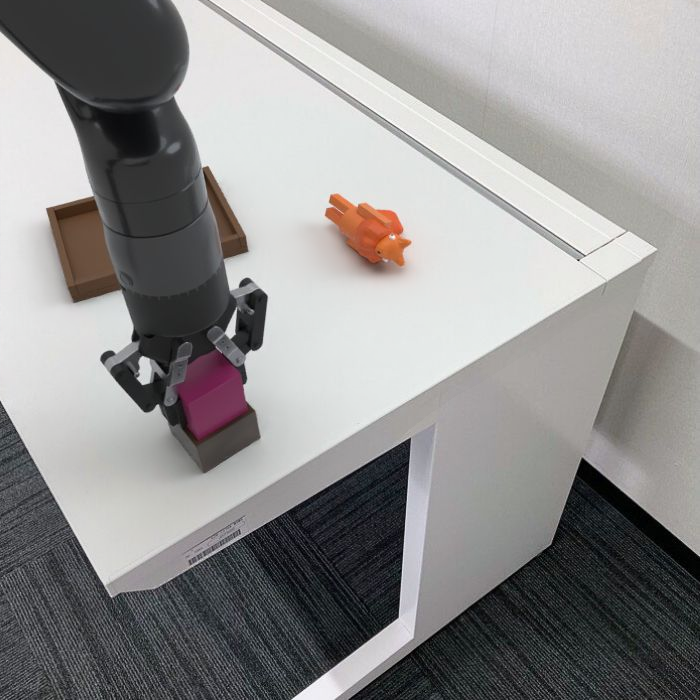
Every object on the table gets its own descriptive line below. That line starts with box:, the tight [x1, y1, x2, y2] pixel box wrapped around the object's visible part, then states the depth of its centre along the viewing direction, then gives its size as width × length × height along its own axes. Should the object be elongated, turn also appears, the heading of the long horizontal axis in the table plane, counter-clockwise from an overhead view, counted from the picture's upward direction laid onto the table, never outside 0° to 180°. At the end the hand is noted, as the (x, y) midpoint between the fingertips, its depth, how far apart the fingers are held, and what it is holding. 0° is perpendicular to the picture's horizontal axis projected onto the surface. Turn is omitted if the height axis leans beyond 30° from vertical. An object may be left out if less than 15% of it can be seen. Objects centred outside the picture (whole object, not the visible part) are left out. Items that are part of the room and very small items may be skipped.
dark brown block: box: [166, 400, 262, 474], centre depth 68 cm, size 6×6×4 cm
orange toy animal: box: [324, 193, 412, 267], centre depth 85 cm, size 5×8×12 cm
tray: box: [45, 165, 249, 304], centre depth 87 cm, size 20×15×2 cm
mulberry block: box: [178, 347, 248, 440], centre depth 65 cm, size 5×5×5 cm
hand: (207, 403), depth 66 cm, fingers closed on mulberry block, 5 cm apart
